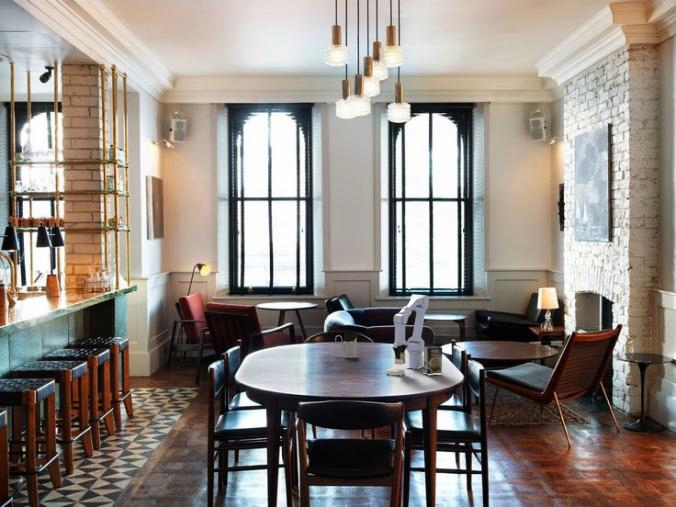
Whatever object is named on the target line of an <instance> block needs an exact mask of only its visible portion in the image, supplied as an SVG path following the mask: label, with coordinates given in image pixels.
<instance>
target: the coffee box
mask: <svg viewBox="0 0 676 507" xmlns="http://www.w3.org/2000/svg"><path fill="white" fill-rule="evenodd" d="M422 369H423V371H422V372H424V373H427V374H433V373H442V374H443V347H441V346H438V345H431V346H429V345H427V346H424V352H423V368H422Z"/></svg>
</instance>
